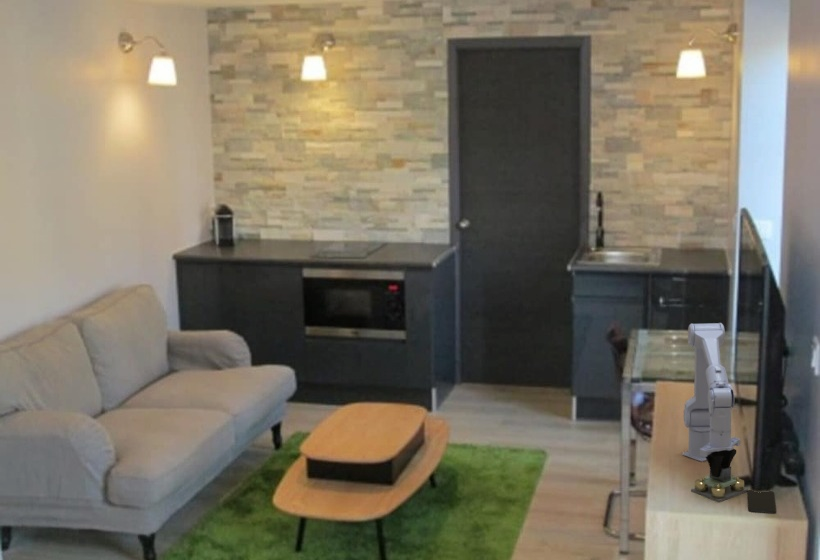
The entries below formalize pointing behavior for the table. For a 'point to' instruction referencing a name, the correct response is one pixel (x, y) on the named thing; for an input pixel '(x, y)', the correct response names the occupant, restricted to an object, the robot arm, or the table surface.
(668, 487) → the table surface
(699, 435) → the robot arm
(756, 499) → the smartphone
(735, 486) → the chassis
